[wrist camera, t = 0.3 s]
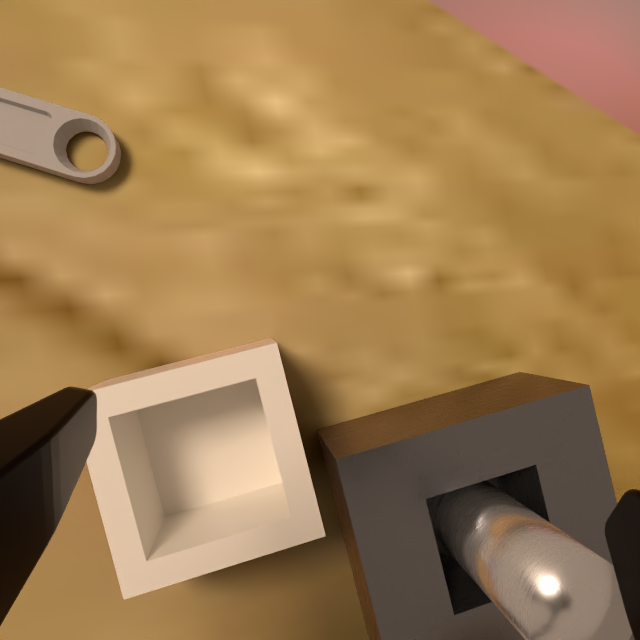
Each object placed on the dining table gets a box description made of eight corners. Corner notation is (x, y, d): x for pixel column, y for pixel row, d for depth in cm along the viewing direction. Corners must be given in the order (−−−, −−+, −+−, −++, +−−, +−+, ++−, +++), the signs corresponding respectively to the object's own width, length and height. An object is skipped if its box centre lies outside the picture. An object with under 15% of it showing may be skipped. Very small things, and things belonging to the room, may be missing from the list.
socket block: (596, 692, 25) (681, 783, 20) (401, 767, 24) (442, 884, 19) (520, 372, 25) (589, 385, 20) (316, 429, 23) (335, 459, 18)
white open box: (308, 490, 23) (325, 536, 18) (151, 537, 22) (123, 599, 17) (270, 337, 23) (276, 342, 18) (109, 379, 22) (69, 396, 17)
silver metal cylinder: (494, 525, 23) (647, 651, 14) (427, 546, 23) (543, 691, 14) (477, 456, 23) (621, 541, 14) (410, 477, 23) (516, 578, 14)
